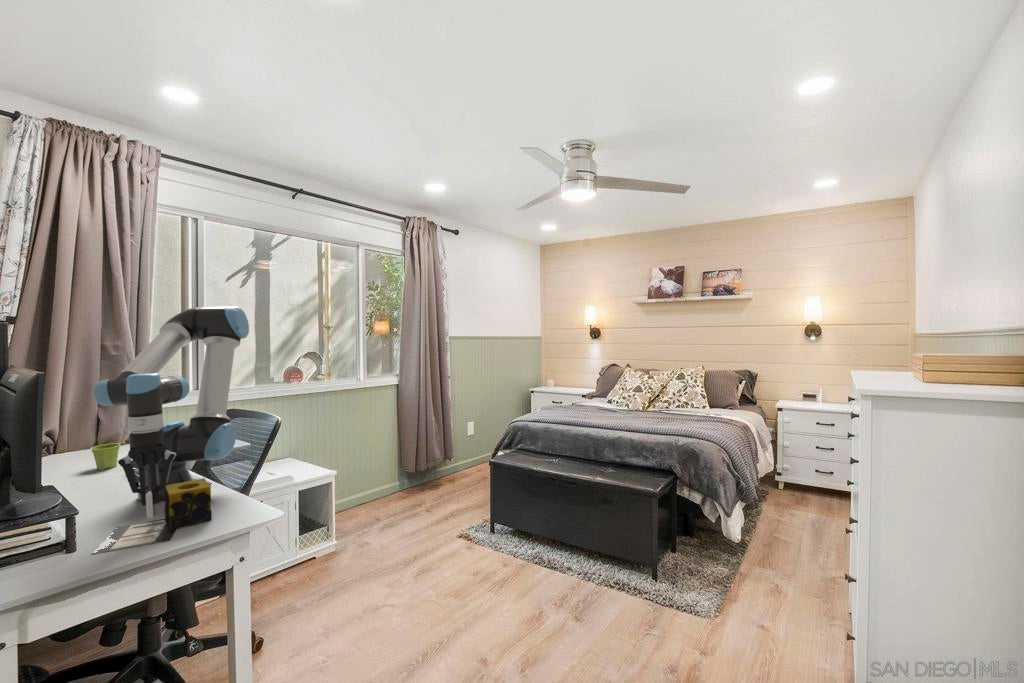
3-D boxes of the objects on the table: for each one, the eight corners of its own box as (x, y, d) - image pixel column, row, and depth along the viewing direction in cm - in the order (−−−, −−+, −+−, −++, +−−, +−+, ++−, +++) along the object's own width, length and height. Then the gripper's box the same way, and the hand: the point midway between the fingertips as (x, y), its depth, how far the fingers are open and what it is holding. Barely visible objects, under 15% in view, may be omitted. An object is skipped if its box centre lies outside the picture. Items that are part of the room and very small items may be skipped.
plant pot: (128, 463, 200) (126, 442, 199) (110, 470, 190) (109, 448, 190) (104, 464, 199) (102, 443, 199) (85, 471, 190) (83, 449, 189)
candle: (164, 520, 137) (162, 485, 136) (206, 510, 143) (204, 477, 143) (168, 531, 129) (166, 494, 129) (212, 520, 136) (211, 485, 135)
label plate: (116, 526, 134) (116, 526, 134) (185, 515, 140) (185, 515, 140) (90, 554, 117) (90, 554, 117) (169, 540, 124) (169, 540, 124)
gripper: (111, 436, 126) (117, 525, 127) (171, 430, 131) (176, 516, 132) (122, 430, 133) (127, 515, 134) (178, 425, 138) (182, 507, 139)
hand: (151, 516), depth 133 cm, fingers closed
